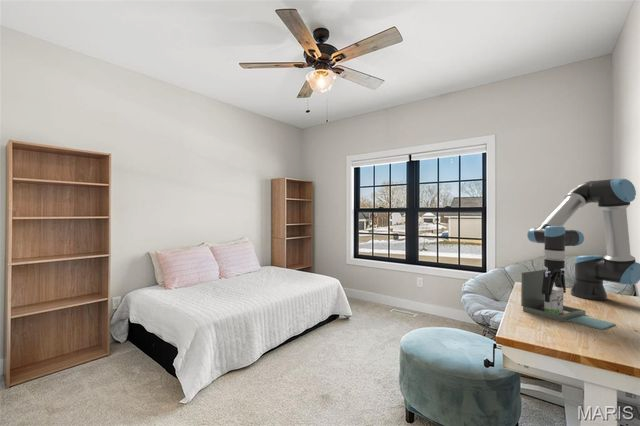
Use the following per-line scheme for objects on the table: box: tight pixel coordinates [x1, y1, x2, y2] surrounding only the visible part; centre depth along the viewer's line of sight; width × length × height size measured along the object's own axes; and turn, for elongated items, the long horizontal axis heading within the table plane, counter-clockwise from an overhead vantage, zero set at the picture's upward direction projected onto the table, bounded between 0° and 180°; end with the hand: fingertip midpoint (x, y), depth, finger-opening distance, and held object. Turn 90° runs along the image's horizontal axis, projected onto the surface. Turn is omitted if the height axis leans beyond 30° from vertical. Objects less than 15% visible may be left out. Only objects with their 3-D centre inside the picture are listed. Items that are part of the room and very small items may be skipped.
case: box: [520, 268, 586, 323], centre depth 138 cm, size 20×17×18 cm
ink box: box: [543, 285, 564, 315], centre depth 138 cm, size 9×5×12 cm, turn 124°
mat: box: [568, 315, 616, 331], centre depth 126 cm, size 12×11×1 cm
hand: (553, 307), depth 138 cm, fingers closed on ink box, 9 cm apart
